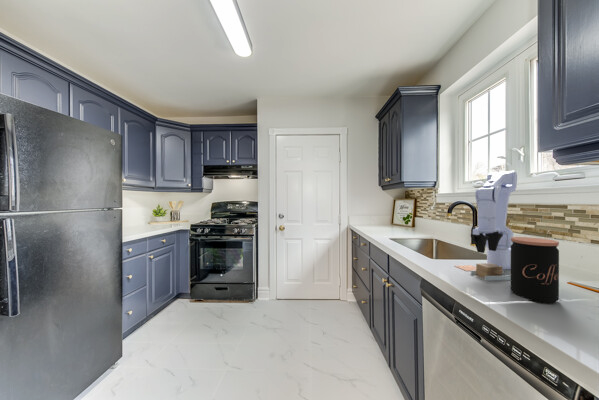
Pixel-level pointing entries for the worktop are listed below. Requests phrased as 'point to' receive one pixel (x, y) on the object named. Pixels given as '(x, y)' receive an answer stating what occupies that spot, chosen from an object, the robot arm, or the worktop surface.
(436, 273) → the worktop surface
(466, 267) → the terracotta tile
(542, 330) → the worktop surface
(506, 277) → the acrylic channel
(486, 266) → the walnut block
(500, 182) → the robot arm
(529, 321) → the worktop surface
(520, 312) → the worktop surface
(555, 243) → the coffee jar
